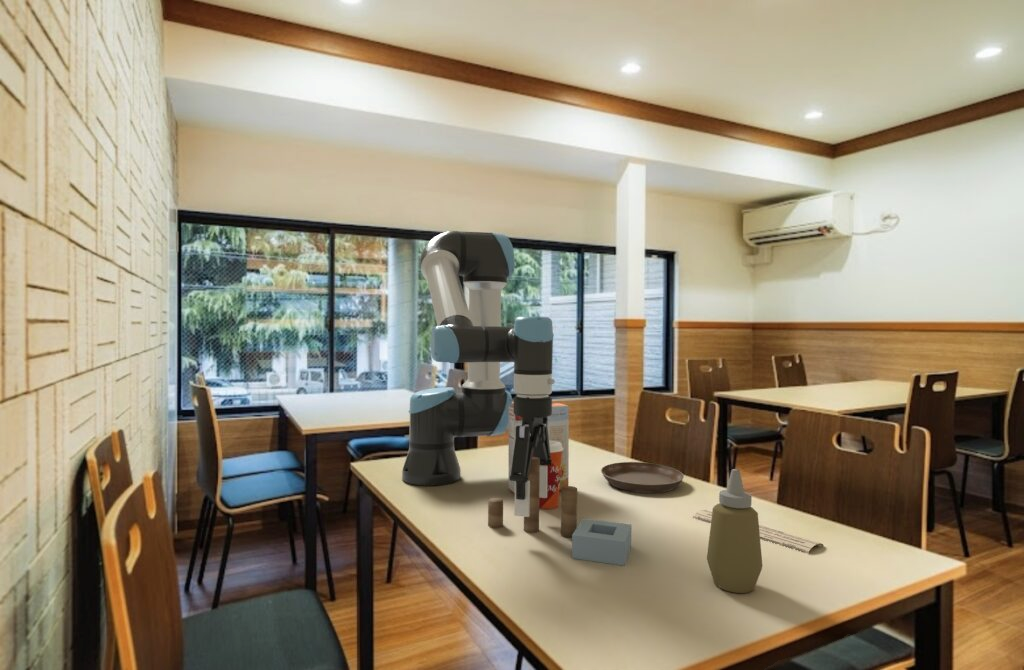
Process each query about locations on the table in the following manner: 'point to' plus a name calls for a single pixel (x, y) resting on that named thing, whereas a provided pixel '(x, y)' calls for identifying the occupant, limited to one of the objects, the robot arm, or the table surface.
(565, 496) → the medium walnut peg
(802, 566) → the table surface
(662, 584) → the table surface
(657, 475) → the plant saucer
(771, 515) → the table surface
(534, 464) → the long walnut peg
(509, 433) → the cracker box
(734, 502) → the squeeze bottle
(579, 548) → the slate-blue socket block
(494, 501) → the short walnut peg
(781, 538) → the newspaper
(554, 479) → the paper cup
